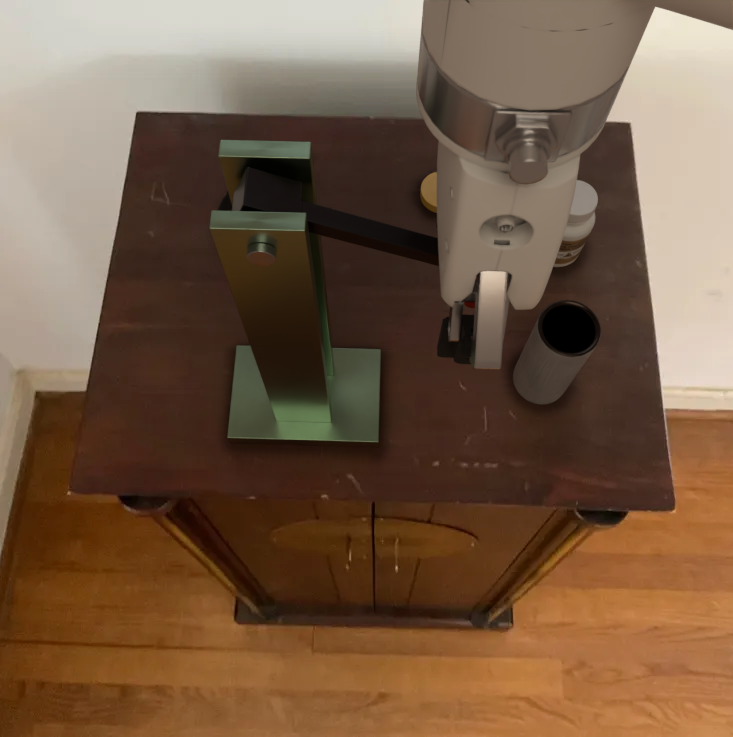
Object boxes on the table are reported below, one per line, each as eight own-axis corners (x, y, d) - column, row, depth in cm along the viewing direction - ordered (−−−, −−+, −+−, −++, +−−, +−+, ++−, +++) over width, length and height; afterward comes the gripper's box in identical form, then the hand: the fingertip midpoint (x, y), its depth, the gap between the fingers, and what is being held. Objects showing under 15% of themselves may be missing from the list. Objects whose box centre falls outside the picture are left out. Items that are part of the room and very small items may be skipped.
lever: (474, 236, 44) (497, 215, 42) (476, 314, 42) (501, 297, 40) (236, 168, 39) (249, 141, 37) (226, 254, 37) (240, 230, 35)
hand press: (380, 356, 65) (391, 118, 37) (378, 447, 62) (388, 261, 34) (239, 352, 65) (145, 112, 38) (230, 443, 62) (120, 255, 35)
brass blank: (447, 170, 72) (448, 164, 71) (471, 201, 71) (473, 194, 70) (411, 189, 71) (412, 183, 70) (436, 221, 70) (437, 214, 69)
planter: (571, 362, 65) (606, 308, 55) (560, 411, 63) (595, 364, 54) (518, 348, 65) (544, 292, 56) (506, 396, 64) (531, 347, 54)
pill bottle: (540, 273, 68) (561, 226, 61) (523, 232, 70) (541, 181, 62) (587, 262, 68) (613, 213, 61) (569, 221, 70) (592, 169, 63)
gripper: (644, 274, 25) (535, 432, 42) (600, -96, 32) (520, 166, 48) (417, 268, 25) (397, 428, 42) (419, -100, 32) (401, 163, 48)
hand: (463, 287), depth 45 cm, fingers open, 7 cm apart
